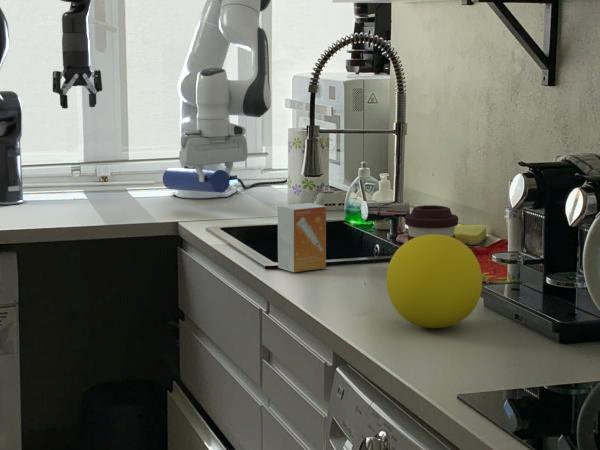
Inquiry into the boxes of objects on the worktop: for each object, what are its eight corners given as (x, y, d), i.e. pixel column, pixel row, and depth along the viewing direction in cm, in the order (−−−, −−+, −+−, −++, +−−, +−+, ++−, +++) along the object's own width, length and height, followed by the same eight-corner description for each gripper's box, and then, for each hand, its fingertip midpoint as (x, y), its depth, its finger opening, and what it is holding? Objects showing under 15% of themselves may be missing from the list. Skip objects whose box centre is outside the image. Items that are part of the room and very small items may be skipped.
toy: (451, 310, 179) (452, 224, 177) (498, 332, 165) (500, 239, 163) (371, 319, 174) (371, 230, 171) (412, 342, 160) (413, 246, 157)
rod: (163, 190, 298) (161, 168, 297) (181, 188, 302) (180, 167, 301) (211, 193, 280) (210, 170, 279) (230, 191, 283) (229, 168, 283)
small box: (294, 273, 210) (293, 209, 208) (277, 268, 215) (276, 205, 213) (327, 268, 215) (326, 205, 212) (309, 263, 220) (309, 202, 218)
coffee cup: (400, 280, 202) (400, 204, 200) (450, 279, 203) (451, 203, 201) (409, 292, 193) (410, 212, 190) (462, 291, 193) (463, 211, 191)
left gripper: (92, 49, 300) (94, 106, 303) (46, 49, 291) (49, 108, 294) (105, 49, 294) (107, 107, 297) (58, 49, 285) (61, 109, 288)
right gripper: (187, 132, 272) (189, 185, 274) (250, 127, 285) (251, 178, 287) (174, 131, 277) (176, 182, 279) (236, 126, 290) (237, 176, 292)
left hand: (78, 107), depth 295 cm, fingers open, 8 cm apart
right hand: (214, 180), depth 283 cm, fingers closed on rod, 6 cm apart
